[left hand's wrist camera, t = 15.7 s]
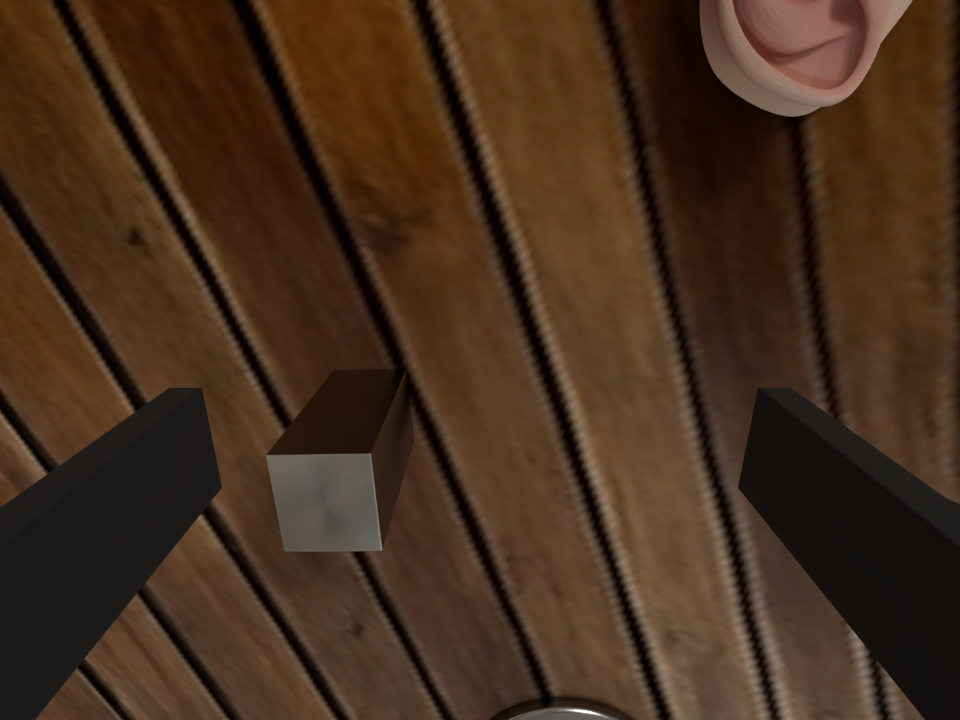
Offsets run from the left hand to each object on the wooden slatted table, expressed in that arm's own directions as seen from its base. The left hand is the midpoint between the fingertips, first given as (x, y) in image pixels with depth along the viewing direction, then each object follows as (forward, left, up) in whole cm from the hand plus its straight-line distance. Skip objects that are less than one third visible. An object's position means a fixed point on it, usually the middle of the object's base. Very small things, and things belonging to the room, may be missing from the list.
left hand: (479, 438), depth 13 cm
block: (-5, +10, -19) cm, 22 cm away
